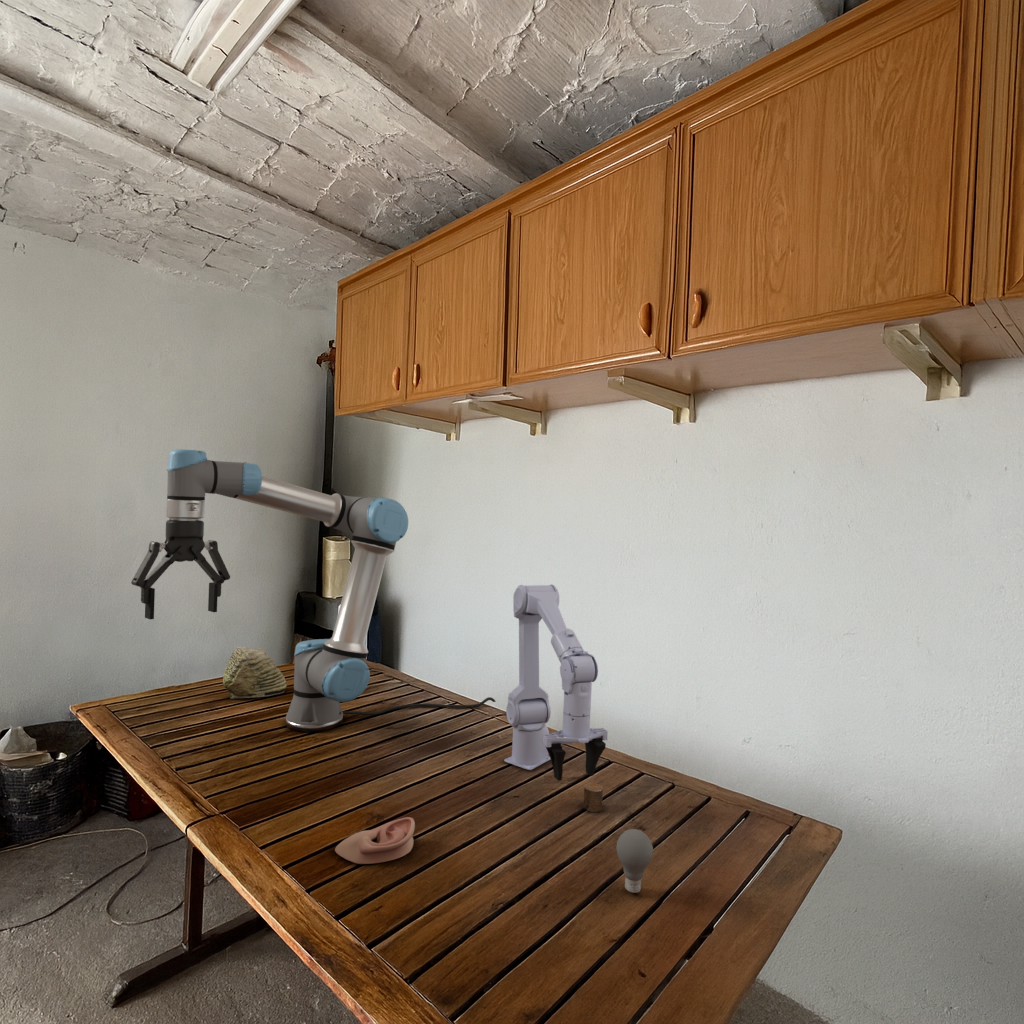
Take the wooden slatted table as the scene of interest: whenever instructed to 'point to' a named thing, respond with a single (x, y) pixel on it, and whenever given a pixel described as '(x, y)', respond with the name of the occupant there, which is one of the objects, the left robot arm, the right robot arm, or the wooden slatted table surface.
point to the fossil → (252, 674)
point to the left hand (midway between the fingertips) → (182, 614)
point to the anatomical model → (379, 843)
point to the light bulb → (634, 857)
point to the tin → (593, 797)
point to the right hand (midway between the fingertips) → (573, 776)
